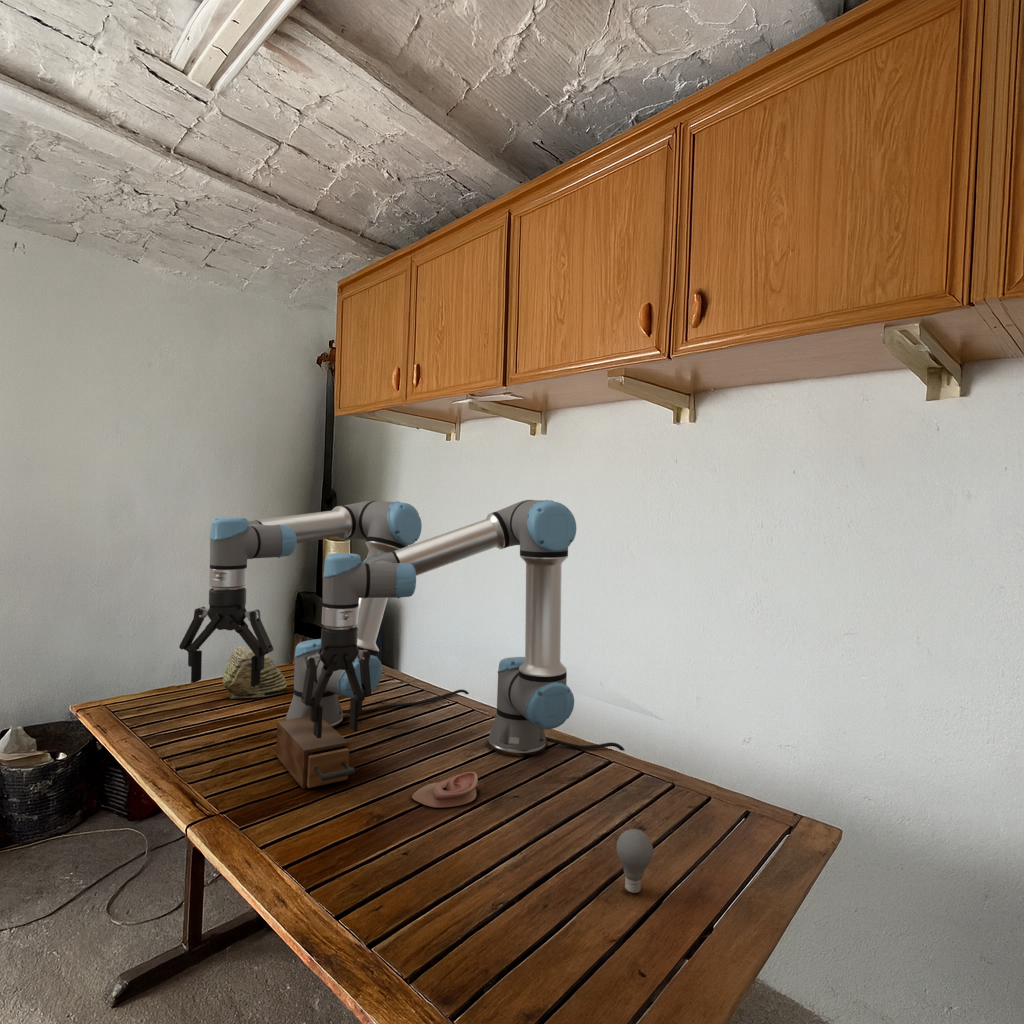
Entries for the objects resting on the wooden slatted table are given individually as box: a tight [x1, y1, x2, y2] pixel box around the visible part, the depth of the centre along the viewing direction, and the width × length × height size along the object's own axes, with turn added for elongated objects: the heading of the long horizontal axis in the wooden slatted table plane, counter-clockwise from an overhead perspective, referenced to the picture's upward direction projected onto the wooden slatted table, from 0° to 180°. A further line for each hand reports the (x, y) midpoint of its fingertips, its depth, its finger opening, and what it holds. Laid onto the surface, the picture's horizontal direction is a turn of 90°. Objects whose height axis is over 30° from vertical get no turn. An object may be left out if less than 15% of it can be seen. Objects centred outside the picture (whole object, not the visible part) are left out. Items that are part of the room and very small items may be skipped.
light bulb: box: [615, 828, 654, 894], centre depth 106 cm, size 6×6×10 cm
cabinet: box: [275, 716, 349, 790], centre depth 148 cm, size 20×10×8 cm, turn 36°
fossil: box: [222, 646, 288, 699], centre depth 198 cm, size 9×18×15 cm, turn 132°
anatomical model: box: [411, 771, 479, 809], centre depth 136 cm, size 13×4×12 cm
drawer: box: [307, 747, 356, 789], centre depth 143 cm, size 25×9×7 cm, turn 36°
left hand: (225, 683), depth 140 cm, fingers open, 13 cm apart
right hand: (335, 732), depth 135 cm, fingers open, 7 cm apart
